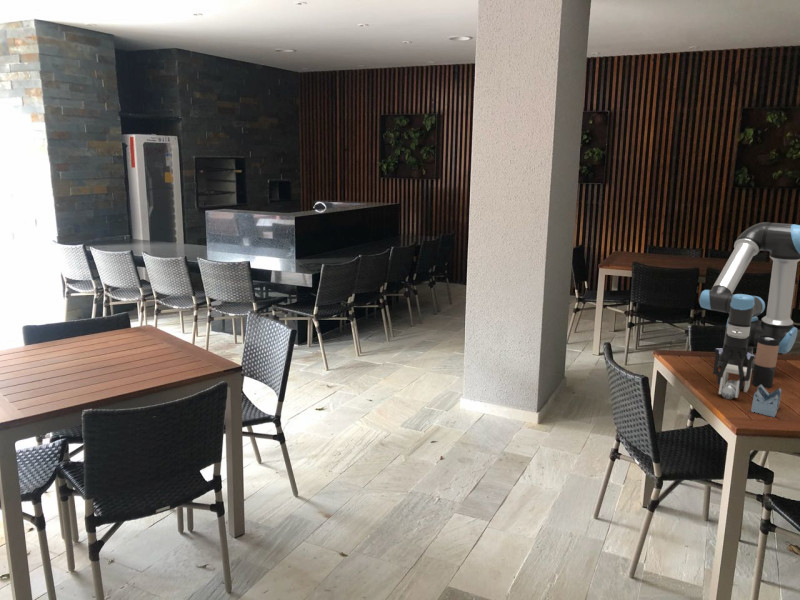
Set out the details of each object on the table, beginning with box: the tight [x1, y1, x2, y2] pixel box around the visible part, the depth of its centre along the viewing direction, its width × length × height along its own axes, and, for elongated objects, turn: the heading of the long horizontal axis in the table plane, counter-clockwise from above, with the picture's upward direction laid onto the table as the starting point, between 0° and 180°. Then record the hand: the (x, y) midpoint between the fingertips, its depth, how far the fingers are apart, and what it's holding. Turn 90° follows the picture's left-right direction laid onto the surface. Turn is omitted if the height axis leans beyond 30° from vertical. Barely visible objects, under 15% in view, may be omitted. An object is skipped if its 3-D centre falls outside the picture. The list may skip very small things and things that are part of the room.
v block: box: [750, 384, 782, 418], centre depth 234 cm, size 12×7×8 cm, turn 144°
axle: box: [720, 379, 738, 400], centre depth 248 cm, size 10×5×5 cm, turn 144°
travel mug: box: [751, 335, 780, 389], centre depth 260 cm, size 8×8×20 cm
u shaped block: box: [722, 364, 753, 393], centre depth 257 cm, size 7×9×8 cm
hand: (728, 394), depth 245 cm, fingers closed on axle, 5 cm apart
